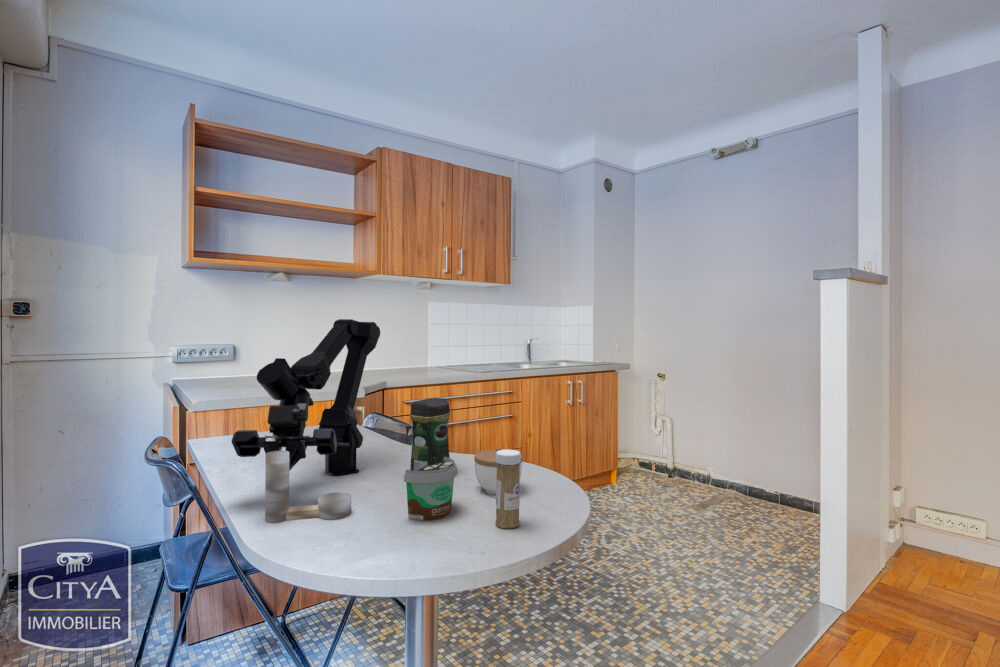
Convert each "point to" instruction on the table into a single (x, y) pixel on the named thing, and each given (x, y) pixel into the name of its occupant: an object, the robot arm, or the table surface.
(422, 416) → the coffee jar
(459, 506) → the table surface
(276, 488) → the crank handle
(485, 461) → the lidded jar
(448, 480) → the food container
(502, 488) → the sprinkles bottle
